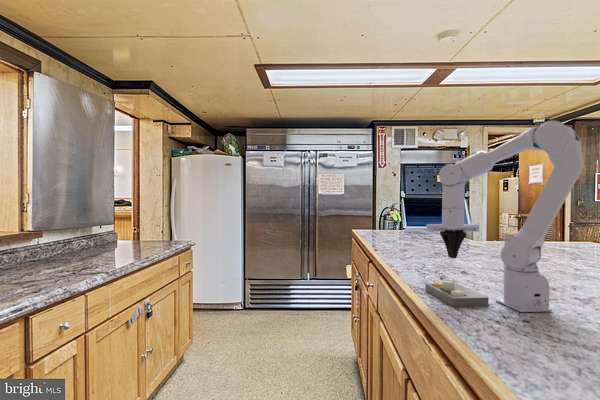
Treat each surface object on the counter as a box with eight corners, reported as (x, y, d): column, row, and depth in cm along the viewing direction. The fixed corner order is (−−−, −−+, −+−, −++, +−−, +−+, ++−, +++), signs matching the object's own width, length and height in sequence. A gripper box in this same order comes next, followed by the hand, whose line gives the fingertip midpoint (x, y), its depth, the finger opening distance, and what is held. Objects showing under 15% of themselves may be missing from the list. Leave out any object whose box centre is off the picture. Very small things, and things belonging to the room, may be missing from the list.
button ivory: (466, 302, 92) (466, 293, 92) (454, 303, 92) (454, 293, 91) (459, 299, 95) (459, 290, 95) (448, 299, 94) (448, 290, 94)
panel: (488, 305, 90) (488, 297, 90) (453, 306, 89) (453, 298, 89) (455, 290, 105) (455, 283, 105) (425, 291, 104) (425, 283, 104)
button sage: (456, 292, 96) (456, 283, 96) (445, 292, 96) (445, 283, 96) (450, 289, 99) (450, 280, 99) (440, 290, 99) (440, 281, 99)
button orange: (447, 293, 101) (447, 284, 101) (437, 293, 100) (437, 284, 100) (442, 290, 104) (442, 282, 104) (432, 290, 103) (432, 282, 103)
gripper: (469, 208, 108) (468, 255, 108) (421, 207, 106) (421, 255, 106) (484, 209, 101) (483, 259, 101) (433, 208, 99) (433, 259, 99)
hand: (452, 257), depth 103 cm, fingers closed
